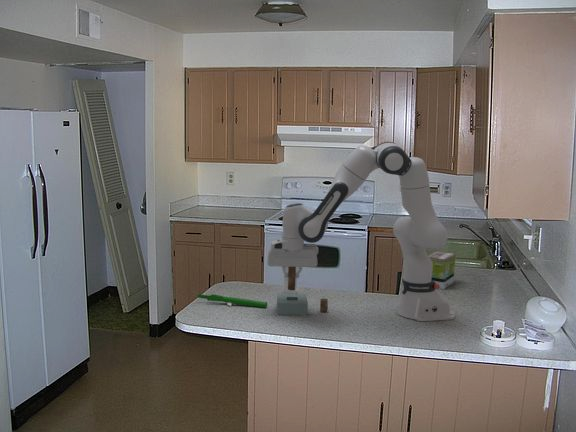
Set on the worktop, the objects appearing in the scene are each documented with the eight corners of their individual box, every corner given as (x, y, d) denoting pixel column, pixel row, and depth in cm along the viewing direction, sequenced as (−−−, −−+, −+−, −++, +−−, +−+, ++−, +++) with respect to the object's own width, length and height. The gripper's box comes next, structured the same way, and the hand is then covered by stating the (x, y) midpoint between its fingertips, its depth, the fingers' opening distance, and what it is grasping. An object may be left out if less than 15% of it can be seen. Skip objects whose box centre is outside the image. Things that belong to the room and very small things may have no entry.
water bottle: (279, 297, 265) (280, 241, 261) (284, 293, 272) (285, 238, 268) (295, 299, 263) (296, 242, 259) (300, 294, 270) (301, 239, 266)
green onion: (267, 308, 253) (199, 298, 259) (267, 300, 252) (199, 291, 258) (264, 312, 248) (195, 302, 254) (264, 304, 248) (195, 294, 254)
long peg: (294, 288, 247) (295, 262, 246) (295, 290, 244) (296, 263, 243) (287, 288, 247) (288, 261, 245) (287, 290, 244) (288, 263, 242)
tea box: (444, 290, 281) (446, 259, 278) (423, 286, 286) (425, 256, 283) (454, 282, 293) (455, 253, 291) (433, 279, 298) (435, 250, 296)
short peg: (327, 310, 249) (327, 298, 248) (327, 312, 246) (328, 300, 245) (319, 310, 248) (320, 298, 248) (320, 312, 245) (320, 300, 245)
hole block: (305, 305, 254) (305, 294, 253) (307, 315, 242) (307, 303, 241) (277, 305, 253) (277, 294, 252) (277, 315, 241) (277, 303, 241)
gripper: (317, 242, 246) (316, 275, 249) (267, 241, 246) (266, 274, 248) (319, 245, 240) (318, 279, 242) (267, 244, 239) (267, 278, 241)
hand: (291, 277), depth 245 cm, fingers closed on long peg, 3 cm apart
